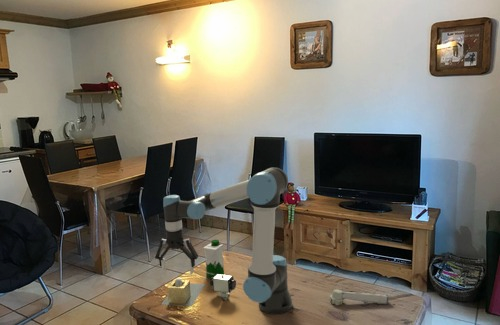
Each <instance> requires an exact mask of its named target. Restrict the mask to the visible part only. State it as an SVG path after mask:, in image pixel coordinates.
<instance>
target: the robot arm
mask: <svg viewBox="0 0 500 325" xmlns="http://www.w3.org/2000/svg"><path fill="white" fill-rule="evenodd" d="M288 184H289V180H288V175H287V173H285V171H284V170H283V169H281V168H279V167H269V168H266V169H265V170H263V171H260V172H257V173H255V174H254V175H253V176H251V178H249V179H248V180H244V181H241V182H239V183H238V182H237V183H235V184H232V185H230V186H226V187H224V188H220V189H217V190H214V191H212V192H208V193H205V194H202V195H201V196H199V197H196V198H194V199H192V200H188V201H187V200H181V198H180V195H177V194H170V195H167V196H164V197H163V200H162V201H163V203H162V204H163V215H164V224H165V236H166V237H165V238H166V239H165V238H161V239H160V240H159V242H160V243H159V247H158V249H157V251H156V254H155V256H154V258H155V260H156V259H158V261H159V267H161V274H162V275H164V274H166V272H167V268H166V258H164V257H165V256H166V254H167V253H168V252H169V251H170V249H171V250H180V251H182V252H183V253H184V254H185V256H187V258H188V259H189V261H188V262H189V263H188V264H189V274H190V275H194V274H193V273H194V272H195V271H194V267H195V266H196V260H197V259H198V258H199V254H198V252H197V251H196V249H195V248H194V246H193V244H192V242H191V238H190V237H189V238H186V239H184V231H183V221H182V219H190V220H200V219H202V218H204V216H205V214H206V212H208V211H211V210H214V209H217V208H220V207H223V206H226V205H230V204H233V203H236V202H239V201H243V200H246V199H249V200H250V206H251V207H252V208H253V229H252V233H253V234H252V250H251V251H252V254H251V263H250V264H249V265H248V267H247V278H246V279H244V282H243V284H242V285H243V286H242V288H243V292H244V293H245V295H246V297H247V299H249V300H251V301H252V302H255V303H258V308H259V309H260V311H262V312H263V313H266V314H271V315H280V314H284V313H286V312H289V311H290V310H291V309H292V307H293V300H292V296H291V295H290V291H289V290H288V289H289V288H288V287H289V286H288V263H287V259H286V258H285V257H284V256H282V255H278V254H277V255H276V254H274V249H275V248H274V243H275V241H274V240H275V224H276V209H278V208H279V207H280V204H281V203H280V201H281V200H280V198H281V194H282V193H284V192H285V191H286V189H287V188H288ZM165 244H166V245H167V247H165V248H166V249H165V250H164V251H163V247H164V246H165ZM186 246H187V247H186ZM162 251H163V252H162Z"/></svg>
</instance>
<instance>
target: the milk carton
mask: <svg viewBox="0 0 500 325" xmlns="http://www.w3.org/2000/svg"><path fill="white" fill-rule="evenodd" d="M203 251H204V258H205V269H206V270H205V277H206V278H207V279H211V278H212V277H214V276H215V275H216V274H220V275H224V274H225V269H224V254H223V251H224V244H221V243H220V240H219V239H212V240H211V242H210V243H208V244H207V245H205V246H203Z"/></svg>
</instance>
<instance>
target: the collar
mask: <svg viewBox="0 0 500 325" xmlns="http://www.w3.org/2000/svg"><path fill="white" fill-rule="evenodd" d="M181 280H182V287H181V286H176V285H175V281H176V279H173V280H172V281H171V282H170V283H169V285H168V286H167V296H168V300H169V304H186V303H187V301H188V300H189V298H190V297H191V292H190V283H191V282H190V280H189V279H181Z"/></svg>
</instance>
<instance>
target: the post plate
mask: <svg viewBox="0 0 500 325" xmlns="http://www.w3.org/2000/svg"><path fill="white" fill-rule="evenodd" d="M175 280H176V281H175V285H176V286H181V287H182V280H183V279H181V278H176V279H175ZM205 286H206V283H191V282H190V292H191V297H190V298H189V300H188V301H187V303H186V304H169V300H168V295H167V296H166V297H165V299H164V300H163V301H162V303H161V304H160V305H161V306H178V307H180V306H182V307H183V306H185V307H188V306H189V307H192V306H193V305H194V303H195V302H196V300H197V299H198V297H199V296H200V294H201V292H202V290H203V289H204V287H205Z"/></svg>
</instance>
